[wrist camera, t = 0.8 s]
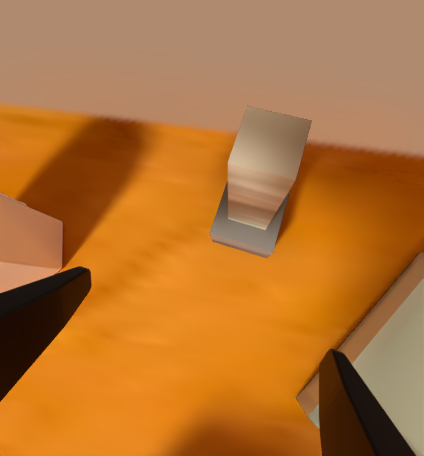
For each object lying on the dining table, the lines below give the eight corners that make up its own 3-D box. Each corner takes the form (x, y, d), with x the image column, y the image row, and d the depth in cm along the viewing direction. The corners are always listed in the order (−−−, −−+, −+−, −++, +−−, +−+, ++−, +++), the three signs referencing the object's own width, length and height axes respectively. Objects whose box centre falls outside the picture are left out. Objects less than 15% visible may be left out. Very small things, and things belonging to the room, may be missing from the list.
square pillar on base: (266, 258, 22) (311, 219, 10) (212, 241, 23) (195, 186, 11) (283, 197, 24) (341, 98, 12) (231, 182, 24) (235, 75, 12)
